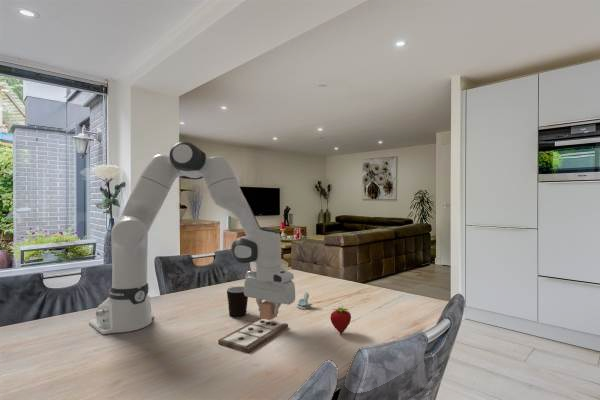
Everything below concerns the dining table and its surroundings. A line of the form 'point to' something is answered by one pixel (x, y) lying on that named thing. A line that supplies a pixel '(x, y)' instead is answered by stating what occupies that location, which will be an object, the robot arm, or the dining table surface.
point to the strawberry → (340, 319)
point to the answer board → (253, 335)
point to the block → (267, 310)
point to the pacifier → (304, 302)
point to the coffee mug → (237, 302)
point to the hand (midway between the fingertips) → (268, 312)
